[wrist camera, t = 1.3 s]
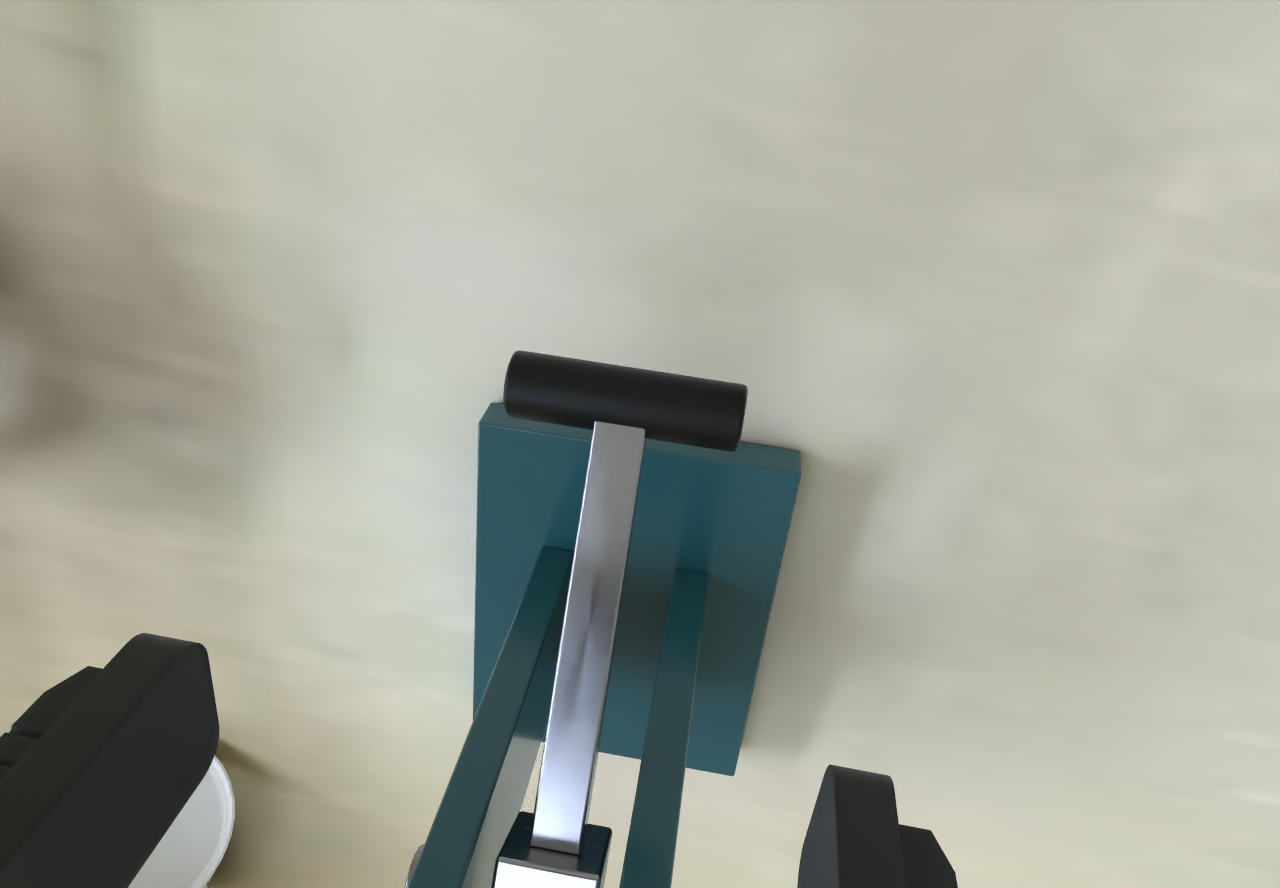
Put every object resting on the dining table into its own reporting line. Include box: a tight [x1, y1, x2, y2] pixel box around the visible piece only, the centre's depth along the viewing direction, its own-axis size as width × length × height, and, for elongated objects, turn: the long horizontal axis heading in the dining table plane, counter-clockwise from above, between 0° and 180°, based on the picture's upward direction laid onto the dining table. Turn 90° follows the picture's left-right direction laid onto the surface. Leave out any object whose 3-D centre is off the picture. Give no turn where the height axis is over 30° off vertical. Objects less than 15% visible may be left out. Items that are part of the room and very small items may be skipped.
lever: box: [491, 350, 748, 888], centre depth 20 cm, size 13×5×2 cm, turn 174°
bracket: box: [405, 403, 801, 888], centre depth 24 cm, size 12×9×13 cm
